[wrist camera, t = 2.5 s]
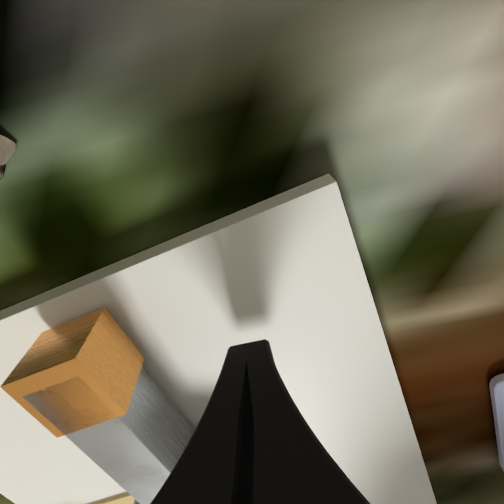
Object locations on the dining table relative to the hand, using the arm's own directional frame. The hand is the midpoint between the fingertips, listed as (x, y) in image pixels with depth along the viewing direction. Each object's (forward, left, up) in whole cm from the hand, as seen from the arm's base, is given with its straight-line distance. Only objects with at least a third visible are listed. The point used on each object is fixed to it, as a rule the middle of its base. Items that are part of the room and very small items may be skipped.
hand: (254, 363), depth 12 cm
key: (+5, +4, -1) cm, 7 cm away
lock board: (+5, +8, -2) cm, 9 cm away
